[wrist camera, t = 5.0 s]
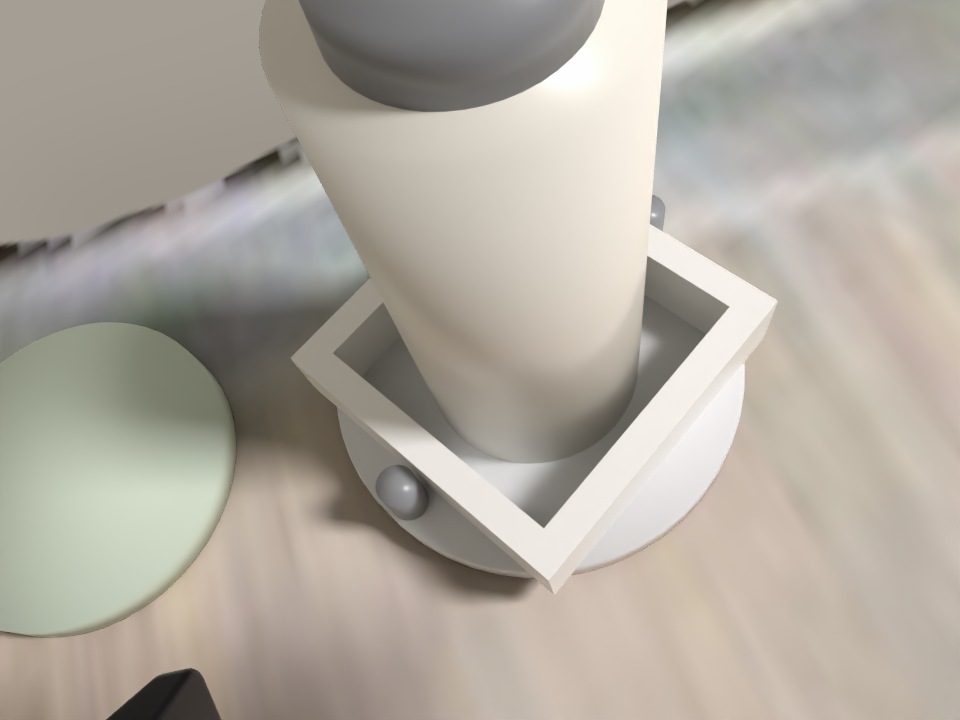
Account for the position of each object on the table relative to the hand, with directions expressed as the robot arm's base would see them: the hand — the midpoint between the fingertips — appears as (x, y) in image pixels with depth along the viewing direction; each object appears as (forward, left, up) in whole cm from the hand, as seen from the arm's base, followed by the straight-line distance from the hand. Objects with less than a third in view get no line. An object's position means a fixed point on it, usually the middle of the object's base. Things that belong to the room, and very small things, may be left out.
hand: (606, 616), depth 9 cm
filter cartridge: (+6, -5, -11) cm, 13 cm away
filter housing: (+6, -5, -12) cm, 14 cm away
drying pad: (+15, +5, -12) cm, 20 cm away
